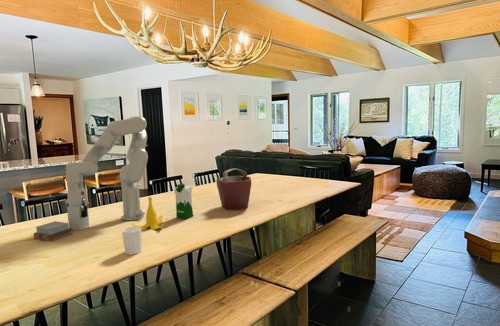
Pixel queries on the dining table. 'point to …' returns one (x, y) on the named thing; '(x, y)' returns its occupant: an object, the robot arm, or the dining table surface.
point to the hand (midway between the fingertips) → (78, 216)
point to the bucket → (234, 190)
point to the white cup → (132, 240)
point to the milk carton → (183, 201)
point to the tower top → (52, 228)
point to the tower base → (52, 237)
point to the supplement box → (77, 218)
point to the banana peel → (151, 218)
